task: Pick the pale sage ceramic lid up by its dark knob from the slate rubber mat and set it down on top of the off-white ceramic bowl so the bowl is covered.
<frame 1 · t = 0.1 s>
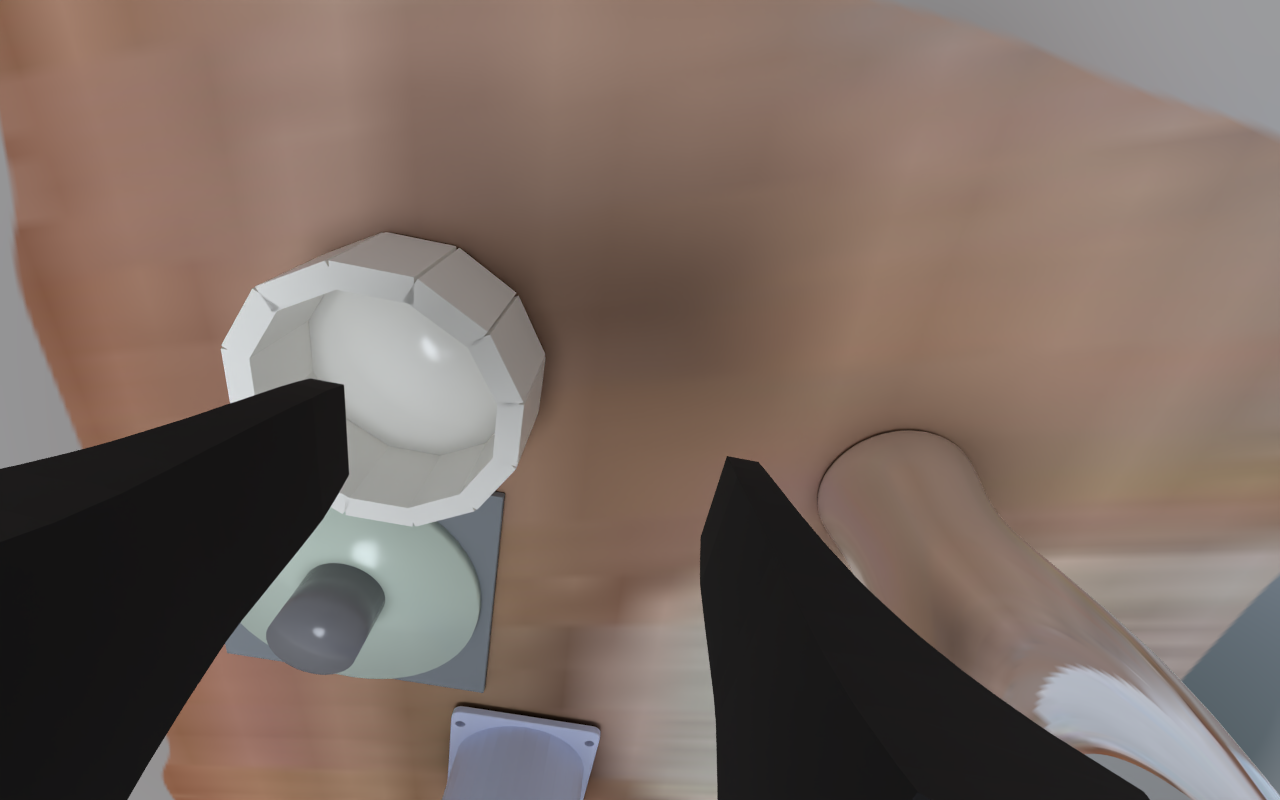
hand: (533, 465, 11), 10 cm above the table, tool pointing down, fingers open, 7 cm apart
lid: (351, 582, 26), resting on mat
mat: (354, 578, 26), on the table
bowl: (423, 357, 21), on the table
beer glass: (891, 489, 23), on the table
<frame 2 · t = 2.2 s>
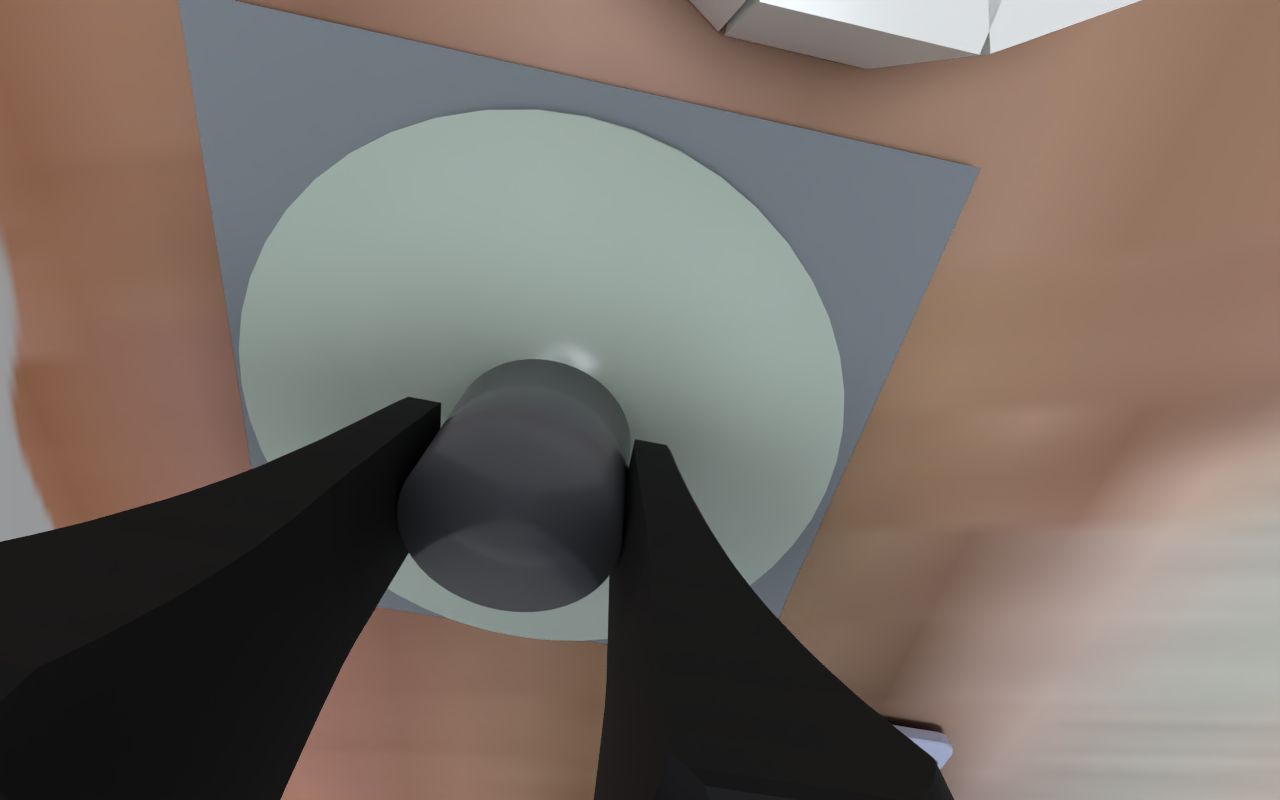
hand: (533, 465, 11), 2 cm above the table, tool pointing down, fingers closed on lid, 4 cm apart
lid: (547, 424, 12), resting on mat, touching gripper
mat: (550, 417, 12), on the table
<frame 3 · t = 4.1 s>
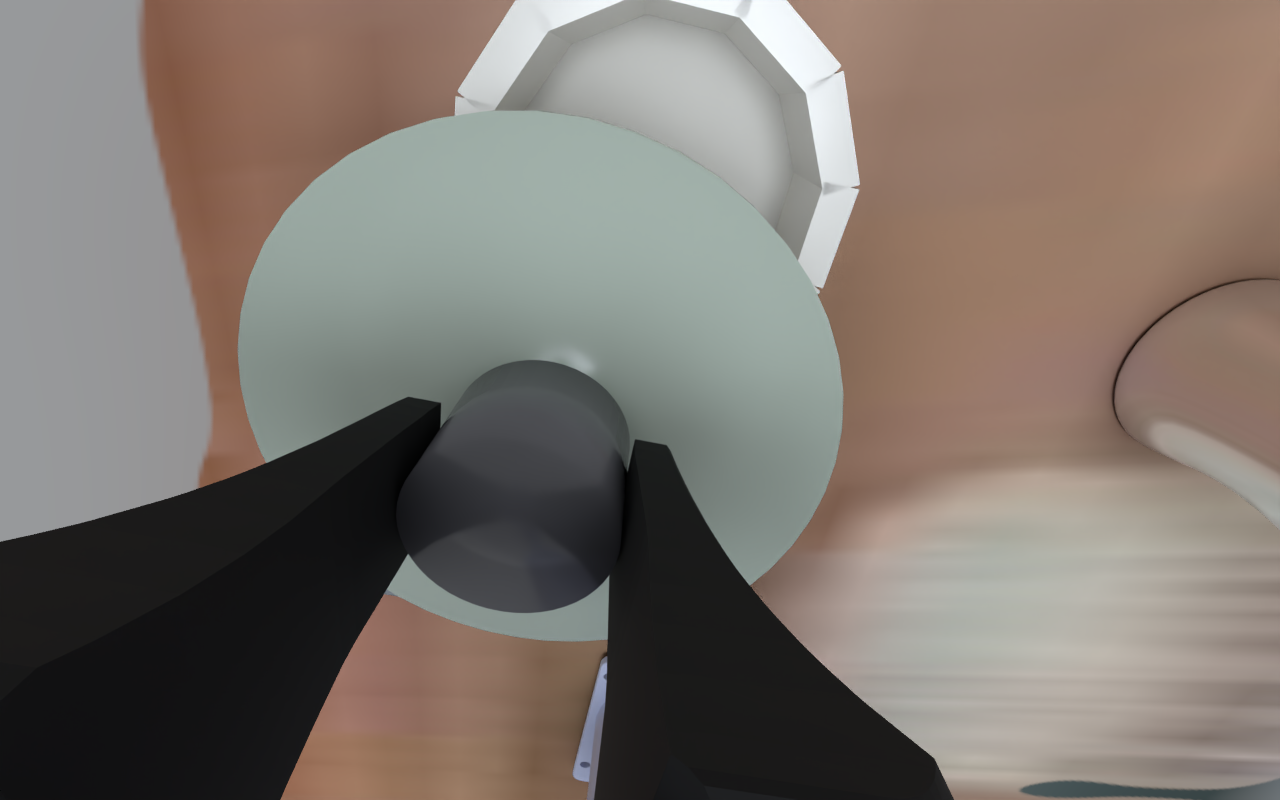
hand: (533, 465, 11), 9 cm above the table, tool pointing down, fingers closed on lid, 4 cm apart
lid: (547, 425, 12), point 7 cm above the table, touching gripper
bowl: (653, 176, 16), on the table
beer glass: (1209, 367, 19), on the table
when the fingers open (6 cm above the table, at t = 5.7 s): lid drops 1 cm, point 4 cm above the table.
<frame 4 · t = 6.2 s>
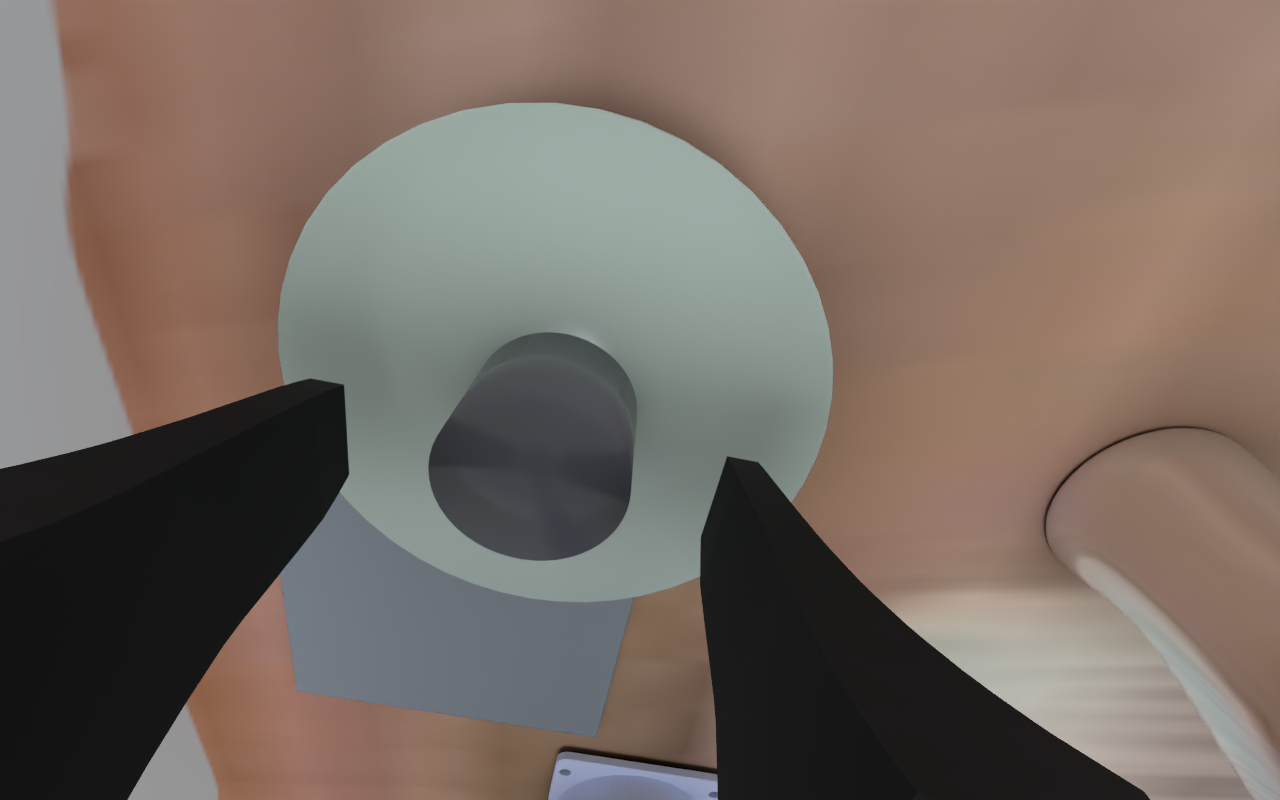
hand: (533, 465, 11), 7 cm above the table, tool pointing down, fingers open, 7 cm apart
lid: (560, 395, 13), point 4 cm above the table
mat: (457, 605, 22), on the table
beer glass: (1138, 501, 19), on the table
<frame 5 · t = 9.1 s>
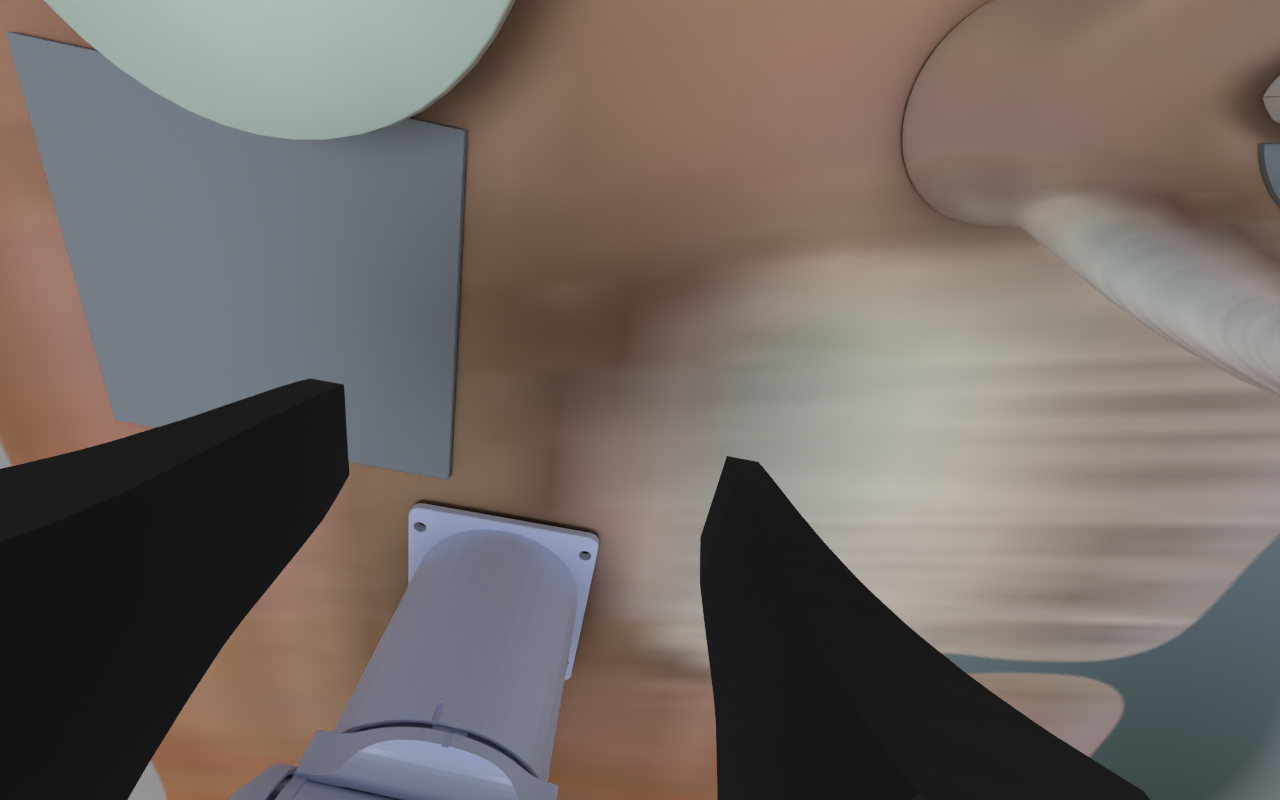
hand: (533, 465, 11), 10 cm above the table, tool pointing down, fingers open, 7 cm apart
mat: (271, 292, 20), on the table
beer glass: (1005, 114, 17), on the table
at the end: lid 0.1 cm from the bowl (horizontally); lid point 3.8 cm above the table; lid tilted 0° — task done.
